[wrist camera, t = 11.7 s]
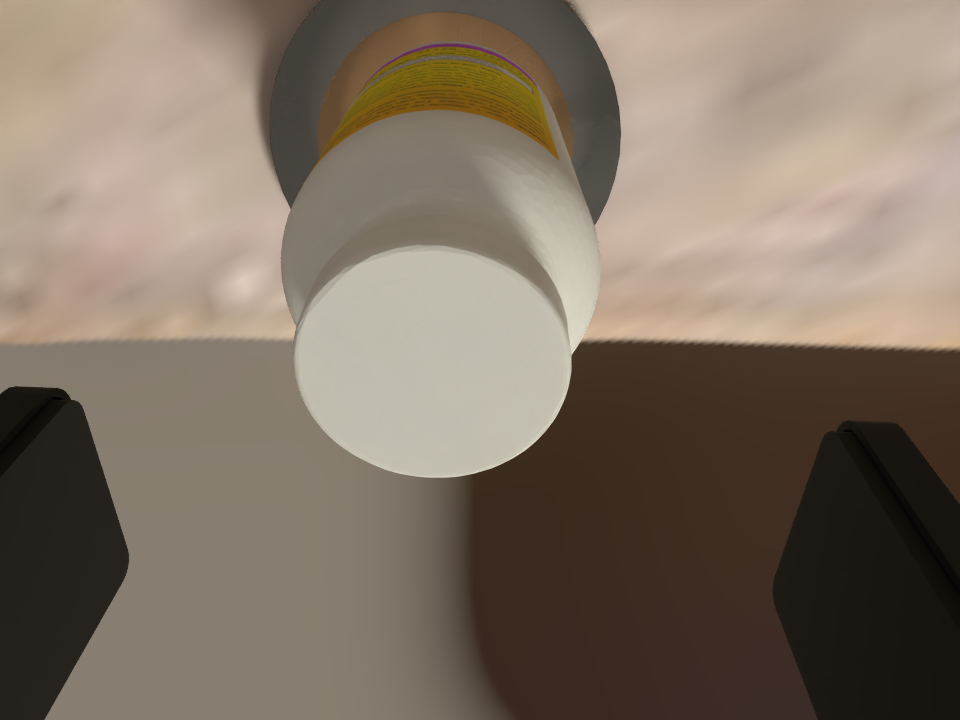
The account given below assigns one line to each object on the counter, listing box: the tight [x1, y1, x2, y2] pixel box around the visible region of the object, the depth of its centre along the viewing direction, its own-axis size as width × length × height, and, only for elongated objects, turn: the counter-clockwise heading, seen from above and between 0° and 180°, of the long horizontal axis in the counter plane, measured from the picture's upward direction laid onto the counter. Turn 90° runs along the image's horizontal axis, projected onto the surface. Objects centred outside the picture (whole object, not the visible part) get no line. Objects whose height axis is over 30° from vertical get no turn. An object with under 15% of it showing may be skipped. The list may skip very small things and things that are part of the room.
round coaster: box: [270, 0, 621, 225], centre depth 23 cm, size 11×11×1 cm
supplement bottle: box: [281, 41, 601, 478], centre depth 18 cm, size 7×7×13 cm
